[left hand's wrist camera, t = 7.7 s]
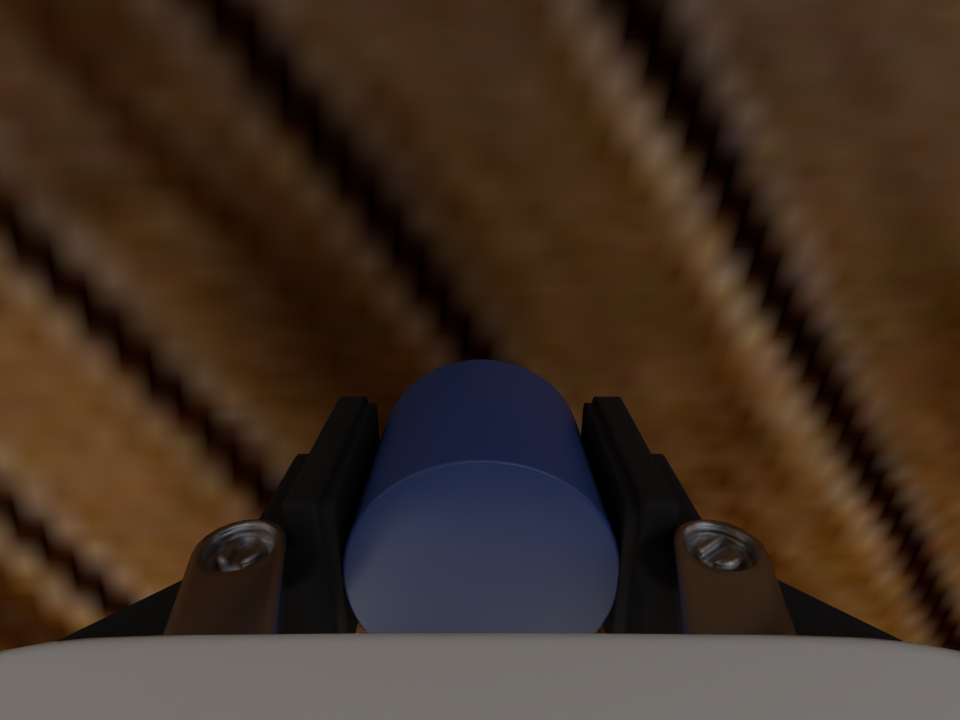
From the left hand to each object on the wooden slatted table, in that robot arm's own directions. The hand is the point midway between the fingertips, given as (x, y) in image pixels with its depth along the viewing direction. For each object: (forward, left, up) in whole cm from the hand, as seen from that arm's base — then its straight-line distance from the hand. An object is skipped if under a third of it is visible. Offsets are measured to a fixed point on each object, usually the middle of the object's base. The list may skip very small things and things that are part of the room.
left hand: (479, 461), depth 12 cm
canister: (0, 0, 0) cm, 0 cm away
